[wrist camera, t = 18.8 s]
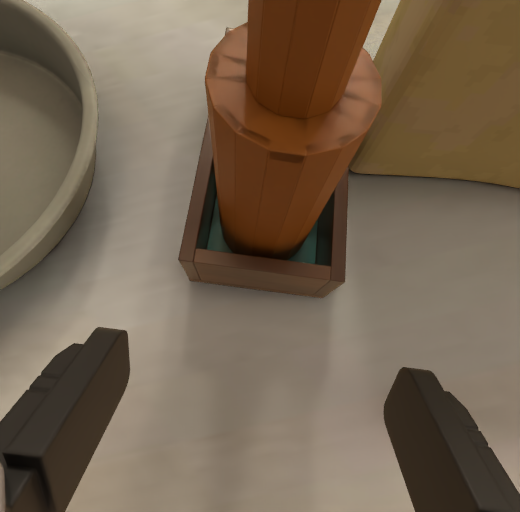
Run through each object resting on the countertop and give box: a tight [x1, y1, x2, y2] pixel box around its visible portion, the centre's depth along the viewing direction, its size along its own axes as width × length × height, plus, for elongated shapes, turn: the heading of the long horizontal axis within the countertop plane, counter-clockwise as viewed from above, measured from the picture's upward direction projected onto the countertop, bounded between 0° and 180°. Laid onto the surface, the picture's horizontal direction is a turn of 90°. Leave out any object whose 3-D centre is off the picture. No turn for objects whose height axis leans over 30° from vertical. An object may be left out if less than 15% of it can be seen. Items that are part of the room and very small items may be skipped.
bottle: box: [205, 0, 382, 260], centre depth 14 cm, size 6×6×16 cm
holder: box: [178, 28, 349, 298], centre depth 22 cm, size 9×17×5 cm, turn 173°
